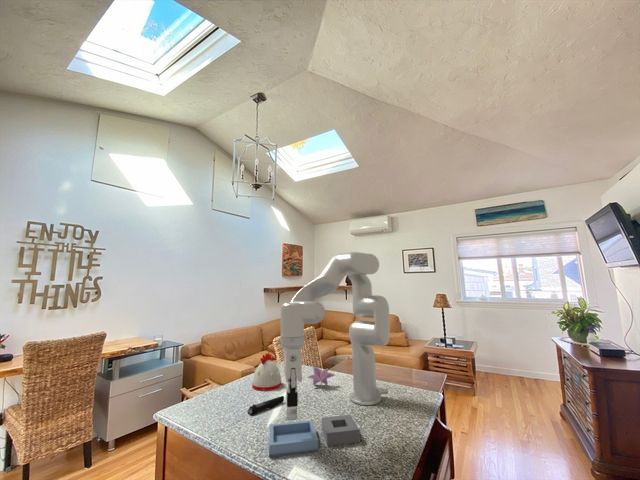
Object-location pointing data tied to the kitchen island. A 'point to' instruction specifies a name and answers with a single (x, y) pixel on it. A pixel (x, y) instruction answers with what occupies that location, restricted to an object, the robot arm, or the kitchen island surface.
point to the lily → (320, 376)
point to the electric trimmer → (265, 405)
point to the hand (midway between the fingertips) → (291, 403)
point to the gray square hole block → (340, 430)
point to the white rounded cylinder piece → (291, 411)
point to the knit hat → (266, 375)
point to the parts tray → (292, 438)
